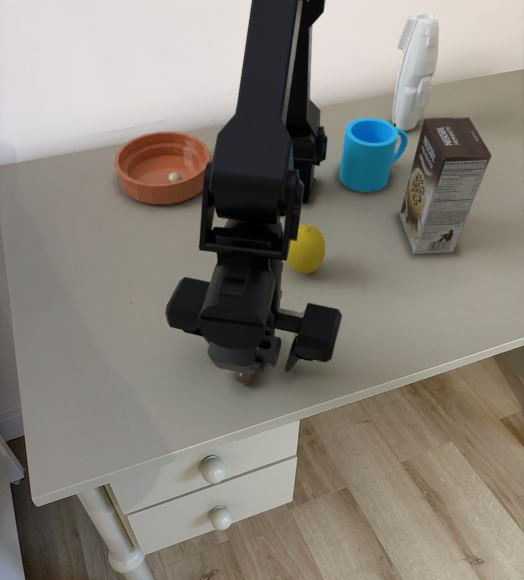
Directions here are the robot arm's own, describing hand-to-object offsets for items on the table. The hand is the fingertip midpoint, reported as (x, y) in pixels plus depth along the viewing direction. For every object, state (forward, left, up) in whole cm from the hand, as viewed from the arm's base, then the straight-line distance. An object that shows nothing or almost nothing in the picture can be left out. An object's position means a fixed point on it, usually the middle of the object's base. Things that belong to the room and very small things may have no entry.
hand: (254, 362), depth 65 cm
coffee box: (-18, -31, -1) cm, 35 cm away
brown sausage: (+1, 0, 0) cm, 1 cm away
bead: (+22, -30, +1) cm, 38 cm away
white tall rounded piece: (-11, -61, -1) cm, 62 cm away
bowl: (+25, -33, 0) cm, 41 cm away
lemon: (-2, -18, -1) cm, 18 cm away
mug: (-8, -44, -1) cm, 44 cm away
